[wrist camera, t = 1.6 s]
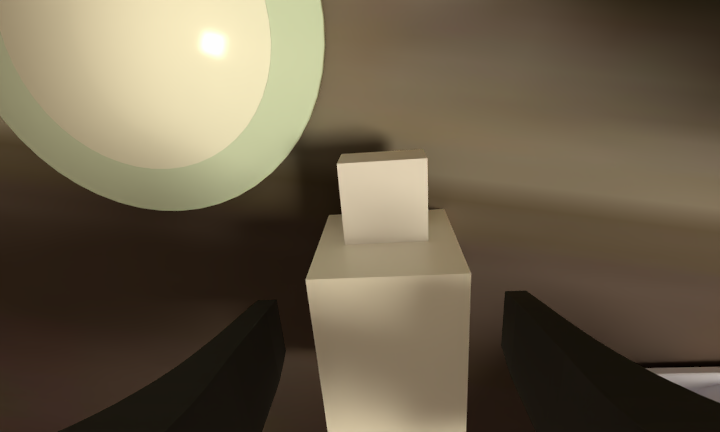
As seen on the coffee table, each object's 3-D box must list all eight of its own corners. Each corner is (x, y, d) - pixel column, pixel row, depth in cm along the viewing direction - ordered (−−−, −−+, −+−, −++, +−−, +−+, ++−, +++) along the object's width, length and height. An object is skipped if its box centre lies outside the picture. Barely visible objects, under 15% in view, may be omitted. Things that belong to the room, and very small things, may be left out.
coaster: (300, -237, 9) (294, -255, 9) (341, 197, 13) (340, 203, 13) (-113, -177, 10) (-142, -191, 10) (43, 213, 14) (29, 219, 14)
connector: (443, 347, 16) (465, 452, 11) (344, 349, 16) (330, 452, 12) (443, 138, 12) (473, 176, 8) (321, 146, 13) (291, 186, 9)
